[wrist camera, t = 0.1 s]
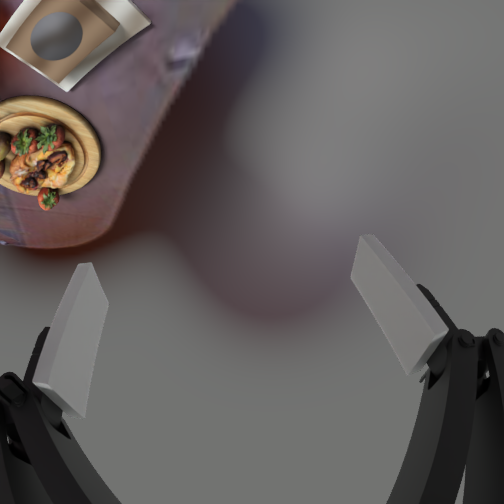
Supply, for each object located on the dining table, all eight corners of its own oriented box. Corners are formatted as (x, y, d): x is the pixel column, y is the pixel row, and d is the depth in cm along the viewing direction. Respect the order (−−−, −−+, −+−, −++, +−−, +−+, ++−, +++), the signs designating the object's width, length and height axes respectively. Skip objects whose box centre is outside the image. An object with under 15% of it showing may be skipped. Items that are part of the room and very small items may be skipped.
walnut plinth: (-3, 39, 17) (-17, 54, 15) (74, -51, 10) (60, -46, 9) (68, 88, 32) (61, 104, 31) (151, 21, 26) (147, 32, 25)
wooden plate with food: (97, 193, 63) (94, 221, 61) (-7, 187, 47) (-15, 215, 44) (112, 97, 38) (103, 130, 35) (-34, 95, 21) (-54, 128, 19)
